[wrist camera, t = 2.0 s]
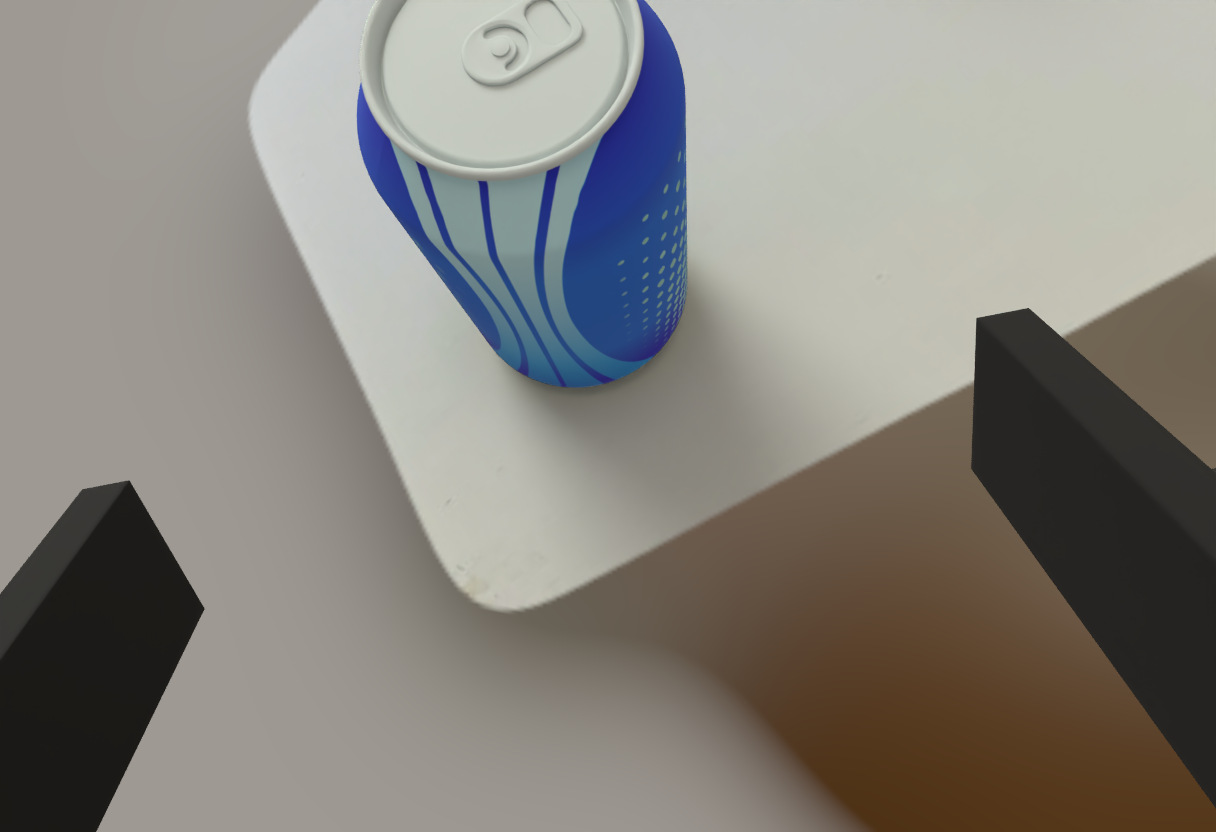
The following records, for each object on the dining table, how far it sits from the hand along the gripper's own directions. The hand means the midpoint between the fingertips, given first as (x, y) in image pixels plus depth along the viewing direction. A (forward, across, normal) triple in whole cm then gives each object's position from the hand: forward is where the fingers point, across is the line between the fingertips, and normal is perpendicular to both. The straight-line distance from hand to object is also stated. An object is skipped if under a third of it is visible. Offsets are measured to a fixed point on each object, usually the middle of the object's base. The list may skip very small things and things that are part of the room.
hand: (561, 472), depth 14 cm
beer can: (+22, 0, -6) cm, 23 cm away
